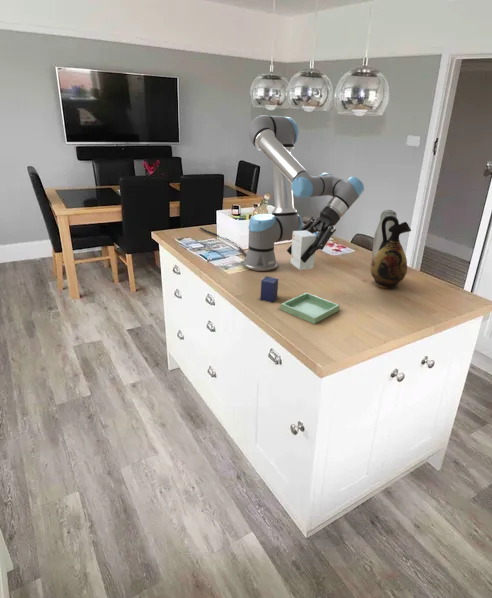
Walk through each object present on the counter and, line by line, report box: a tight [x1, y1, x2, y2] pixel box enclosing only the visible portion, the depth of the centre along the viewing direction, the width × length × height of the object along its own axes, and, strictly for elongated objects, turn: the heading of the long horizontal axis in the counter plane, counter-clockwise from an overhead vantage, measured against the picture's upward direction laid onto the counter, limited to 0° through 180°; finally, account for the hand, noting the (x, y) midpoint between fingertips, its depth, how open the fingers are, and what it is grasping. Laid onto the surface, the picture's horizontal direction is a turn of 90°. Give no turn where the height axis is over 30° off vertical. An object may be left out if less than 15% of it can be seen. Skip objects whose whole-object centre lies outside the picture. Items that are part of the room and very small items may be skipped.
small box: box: [289, 230, 317, 271], centre depth 159 cm, size 8×6×13 cm
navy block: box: [260, 276, 279, 303], centre depth 160 cm, size 5×5×8 cm
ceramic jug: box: [369, 216, 412, 290], centre depth 177 cm, size 17×15×30 cm
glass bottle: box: [371, 209, 398, 261], centre depth 198 cm, size 10×10×28 cm
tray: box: [280, 292, 340, 325], centre depth 154 cm, size 16×16×2 cm
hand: (295, 256), depth 158 cm, fingers closed on small box, 9 cm apart
